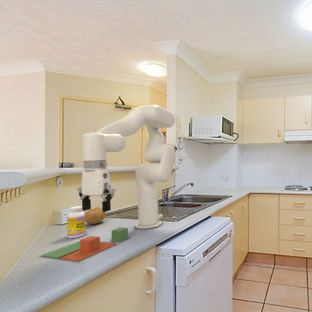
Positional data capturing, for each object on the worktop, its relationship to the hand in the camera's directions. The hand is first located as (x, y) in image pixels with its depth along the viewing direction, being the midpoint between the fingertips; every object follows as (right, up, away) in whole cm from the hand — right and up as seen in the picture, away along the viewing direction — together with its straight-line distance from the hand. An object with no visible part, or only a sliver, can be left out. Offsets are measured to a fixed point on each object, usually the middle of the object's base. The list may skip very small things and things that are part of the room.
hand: (96, 210), depth 88 cm
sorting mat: (-5, -14, -1) cm, 15 cm away
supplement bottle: (-18, -15, +15) cm, 28 cm away
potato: (-22, -16, +35) cm, 45 cm away
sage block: (+4, -14, +9) cm, 18 cm away
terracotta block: (-1, -14, -3) cm, 14 cm away
